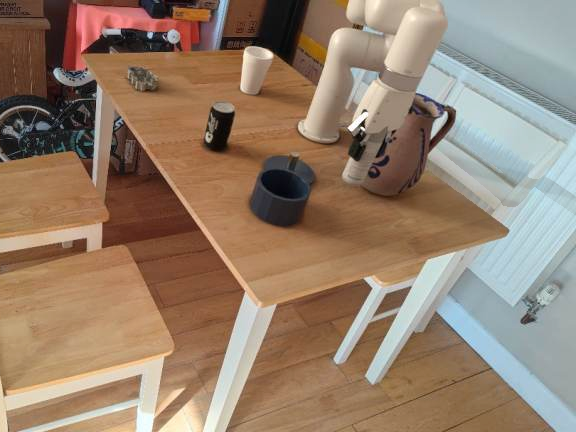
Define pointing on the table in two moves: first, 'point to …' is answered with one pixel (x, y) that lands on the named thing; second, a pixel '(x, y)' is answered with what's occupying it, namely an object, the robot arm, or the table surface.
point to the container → (363, 159)
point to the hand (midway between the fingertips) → (363, 155)
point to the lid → (291, 165)
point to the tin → (279, 196)
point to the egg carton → (142, 78)
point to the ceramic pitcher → (408, 148)
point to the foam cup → (254, 69)
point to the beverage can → (219, 125)
